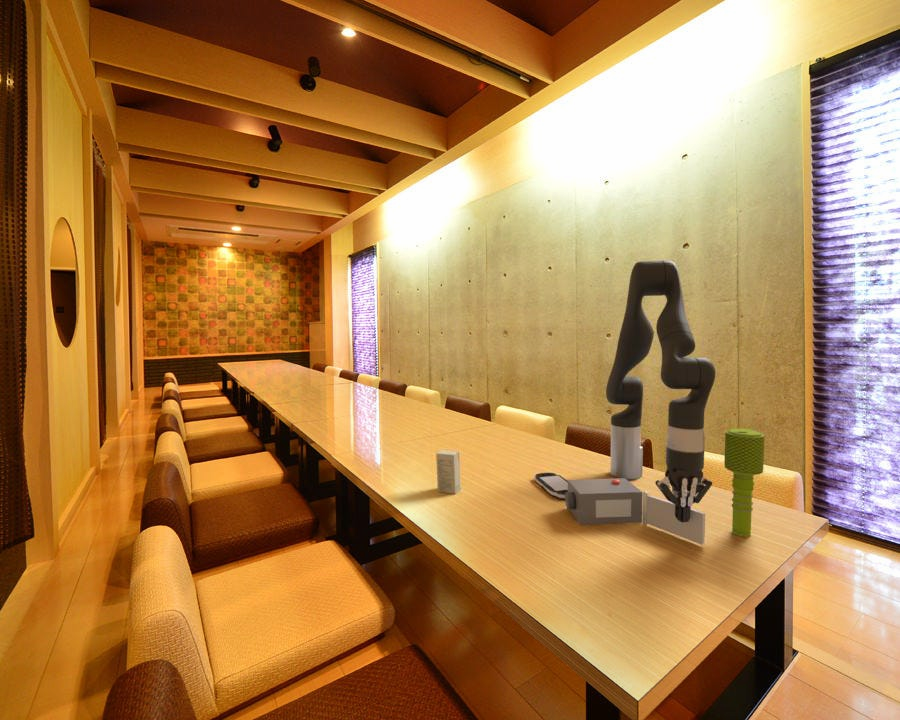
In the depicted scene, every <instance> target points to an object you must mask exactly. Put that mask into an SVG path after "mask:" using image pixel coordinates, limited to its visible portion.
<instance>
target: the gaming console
mask: <svg viewBox="0 0 900 720" xmlns="http://www.w3.org/2000/svg"><path fill="white" fill-rule="evenodd" d="M533 476H534V481H535V482H536V483H537V484H538V485H539V486H540V487H541V488H543V490H545V491H546V492H547V493H548V494H549V495H550V496H551V497H553V498H556V499H558V500H562V501H565V494H566V492H568V479H566V478H564V476H561V474H557V473H555V472H540V473H536V474H534V475H533Z"/></svg>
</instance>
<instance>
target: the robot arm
mask: <svg viewBox="0 0 900 720" xmlns="http://www.w3.org/2000/svg"><path fill="white" fill-rule="evenodd" d="M682 288H683V287H682V283H681V276H680V272H679V269H678V267H677V265H676V263H675V262H674V261H671V260H643V261H642V260H641V261H638V262H636V263H635V264H634V265H633V267H632V268H631V273H630V278H629V285H628V293H627V299H626V306H625V311H624V316H623V321H622V325H621V329H620V332H619V336H618V340H617V345H616V352H615V355H614V356H615V357H614V360H613V361H614V362H613V363H612V368H611V370H610V374H609V377H608V379H607V380H608V381H607V383H606V387H605V398H606V400H607V402H608V403H610V404H612V405H622V406H623V405H624V406H626V405H628V406H627V408H625V409H623V410H622V411H620V412H617V413H613V415H611V418H610V475H611V476H613V477H614V478H625V479H627V480H638V479H639V478H640V477H642V476H643V464H644V463H643V459H644V458H643V456H644V454H643V453H644V449H643V446H641V445H642V444H641V443H642V442H641V441H642V440H641V439H642V438H641V436H642V435H641V431H642V429H641V427H642V416H643V402H644V401H643V400H644V397H643V396H644V385H643V382H642V379H641V378H640V377H638V376H627V375H628V373H629V372H630V371H632V370H633V369H634V368H635V367H636V366H637V365H639V364H640V363H641V362H642V361H644V360H645V358H646V357H647V356H648V355H649V352H650V351H651V347H652V344H653V340H654V334H655V331H654V329H653V325H652V324H651V321H649V319H648V317H647V315H646V313H645V311H644V309H643V305H642V304H643V298H644V297H648V296H649V297H651V296H653V297H654V296H656V297H657V296H664V297H665V298H666V303H665V305H664V307H663V309H662V311H661V312H660V314H659V315H658V318H657V321H656V326H655V327H656V328H655V329H656V335H657V337H658V342H659V345H660V348H661V368H660V378H661V382H662V383H663V384H664V385H665V387H667V388H669V389H672V390H690V391H689V393H688V394H687V396H685V397H681V398H676V399H673V400H671V401H670V402H669V403H668V410H667V411H668V412H667V413H668V416H667V417H668V419H667V420H668V421H667V422H668V423H667V429H666V440H665V441H666V442H665V444H666V445H665V465H666V470H665V473H664V476H665V477H663V478H662V479H661V480H660V479H657V480H656V481H655V483H654V484H655V485H656V486H657V488H658V489H659V491H660V492H661V493H662V495H663V496H664V497H665V500H667V501H670V502H672V503H673V504H675V517H676V518H677V520H679V521H680V522H689V519H690V514H691V508H692V507H693V505H694V504H699V503H700V502H701V501H702V499H703V498H704V497H705V495H706V494H707V493H708V491H709V490H710V488H711V487H712V486H713V481H711V480H710V479H708V478H706V477H705V476H704V472H703V470H704V468H705V445H706V443H705V441H706V438H705V411H706V410H705V409H706V407H707V404H708V400H709V396H710V393H711V391H712V388H713V386H714V383H715V380H716V368H715V366H714V364H713V362H712V361H711V360H710V359H708V358H707V357H688V356H690V355H692V353H694V351H695V349H696V342H695V339H694V335H693V333H692V330H691V327H690V325H689V322H688V319H687V314H686V311H685V310H686V309H685V302H684V295H683V290H682Z"/></svg>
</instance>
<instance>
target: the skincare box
mask: <svg viewBox="0 0 900 720" xmlns="http://www.w3.org/2000/svg"><path fill="white" fill-rule="evenodd" d="M435 455H436V457H435V459H436V480H437V492H438V493H447V494H453V495H456V494H457V493H458V492H460V491H461V489H462V487H461V483H462V482H461V465H460V462H461V461H460V451H459V450H445V449H441V450H439V451H437V452H436V453H435Z"/></svg>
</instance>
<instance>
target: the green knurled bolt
mask: <svg viewBox="0 0 900 720" xmlns="http://www.w3.org/2000/svg"><path fill="white" fill-rule="evenodd" d="M724 435H725V437H724V459H723V460H724V461H723V463H724V464H723V465H724V468H725V469H726V470H727V471H729V472H732V480H731V483H732V484H731V486H732V489H733V491H732V492H731V493H732V495H733V497H732V498H731V501H732V503H731V507H732V518H731V519H732V522H731V524H732V525H731V527H732V529H731V532H732V533H733V534H734V535H736V536H739V537H742V538H743V537H744V538H749V537H751V534H752V532H751V530H752V512H753V510H754V508H753V504H754V502H753V499H752V498H753V497H754V495H753V491H754V489H755V487H754V486H755V482H754V476H757V475H761V474H763V473H764V459H765V436H766V435H765V434H764V433H762V432H760V431H757V430H754V429H748V428H731V429H728V430H725V433H724Z"/></svg>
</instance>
